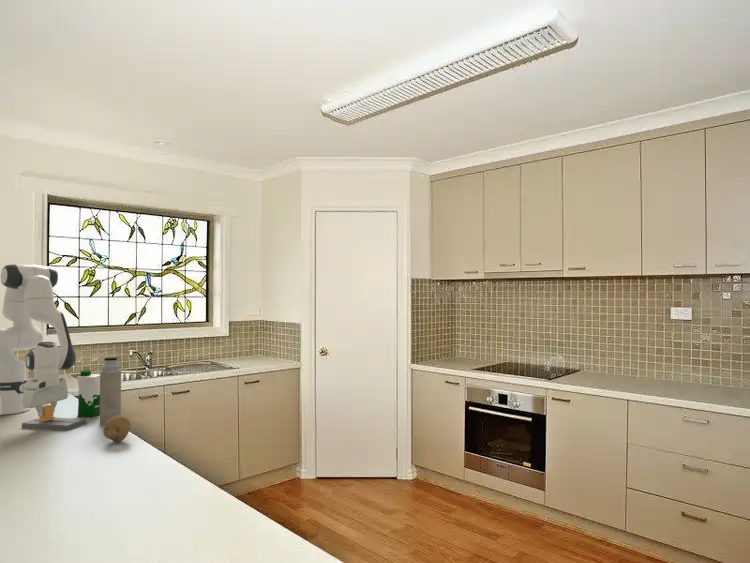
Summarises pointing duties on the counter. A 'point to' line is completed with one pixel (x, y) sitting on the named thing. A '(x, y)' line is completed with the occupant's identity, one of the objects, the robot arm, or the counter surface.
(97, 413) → the milk carton
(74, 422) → the slider board
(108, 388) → the thermos bottle
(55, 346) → the robot arm
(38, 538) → the counter surface
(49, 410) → the fader knob
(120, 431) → the natural sponge
